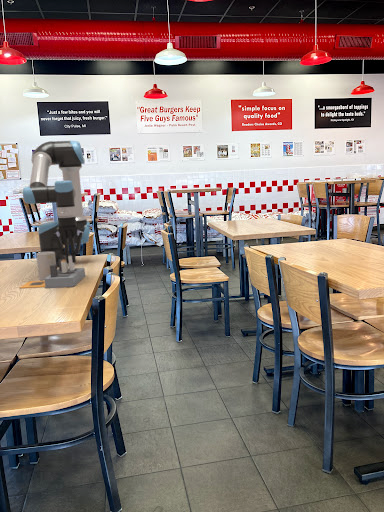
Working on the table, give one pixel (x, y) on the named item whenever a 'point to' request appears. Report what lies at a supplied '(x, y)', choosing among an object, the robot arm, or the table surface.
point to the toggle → (64, 266)
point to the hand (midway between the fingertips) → (72, 269)
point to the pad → (34, 284)
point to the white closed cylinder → (45, 263)
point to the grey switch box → (63, 277)
